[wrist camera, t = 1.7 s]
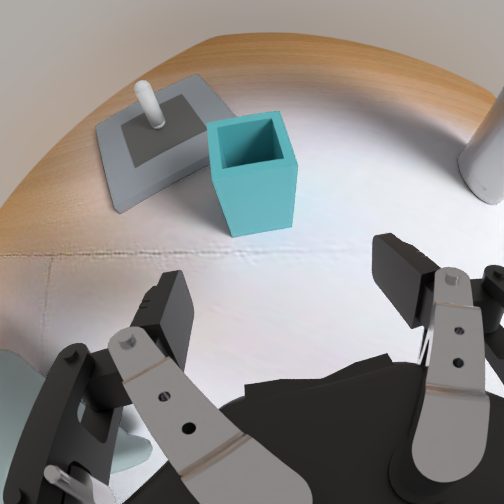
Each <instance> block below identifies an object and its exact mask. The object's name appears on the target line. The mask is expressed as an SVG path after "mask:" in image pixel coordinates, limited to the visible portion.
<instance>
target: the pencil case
mask: <svg viewBox="0 0 504 504" xmlns="http://www.w3.org/2000/svg"><path fill="white" fill-rule="evenodd" d="M45 379H46V378H45V377H44V376H43V375H42V374H40V373H39V372H38V371H37V370H35V369H34V368H33V367H32V366H31V365H30V364H28V363H27V362H26V361H25V360H24V359H23V358H22V357H21V356H19V355H18V354H16V353H14V352H11V351H8V350H1V349H0V504H4V502H3V490H4V486H5V482H6V479H7V475H8V472H9V468H10V465H11V462H12V459H13V456H14V453H15V450H16V447H17V444H18V442H19V439H20V436H21V434H22V431H23V429H24V426H25V424H26V421H27V419H28V416H29V414H30V412H31V409H32V407H33V405H34V403H35V400H36V398H37V396H38V394H39V392H40V390H41V388H42V385H43V383H44V381H45ZM85 407H86V406H85V405H84V404H82V403H81V402H80V405H79V407H78V412H77V415H78V419H79V422H81V419H82V416H83V413H84V410H85ZM152 449H153V447H152V445H151V443H150V441H149V440H148V439H145V438H142V437H139V436H135V435H127V432H126V431H125V430H123V429H122V428H121V427H119V429H118V434H117V439H116V444H115V449H114V454H113V460H112V466H111V472H110V474H112V473H116V472H119V471H123V470H126V469H129V468H131V467H134V466H136V465H139V464H141V463H143V462H144V461H146V460H148V459H149V457H150V455H151V452H152Z"/></svg>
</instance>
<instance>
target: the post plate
mask: <svg viewBox="0 0 504 504" xmlns="http://www.w3.org/2000/svg"><path fill="white" fill-rule="evenodd" d="M134 92H135V94H136V96H137V98H138V100H139V101H138V102H136V103H134V104H132V105H130V106H129V107H127V108H125V109H123V110H122V111H120V112H118V113H116V114H115V115H113V116H111V117H110V118H108V119H106V120H105V121H103V122H102V123H100V124H98V125H97V126H95V127H96V132H97V138H98V143H99V147H100V152H101V157H102V161H103V165H104V170H105V174H106V178H107V182H108V186H109V189H110V193H111V197H112V200H113V204H114V208H115V209H116V210H117V211H118V212H119V213H120V214H122V213H123V212H125V211H126V210H128V209H130V208H131V207H133V206H135V205H136V204H138V203H140V202H141V201H143V200H145V199H146V198H148V197H150V196H152V195H153V194H155V193H157V192H158V191H160V190H162V189H164V188H166V187H167V186H169V185H171V184H173V183H175V182H176V181H178V180H180V179H182V178H184V177H186V176H188V175H190V174H191V173H193V172H195V171H197V170H199V169H201V168H203V167H205V166H207V165H209V164H210V157H209V146H208V135H207V123H209V122H214V121H219V120H224V119H229V118H235V117H236V115H235V114H234V113H233V112H232V111H231V110H230V109H229V108H228V106H227V105H226V104H225V103H224V102H223V101H222V100H221V99H220V98H219V96H218V95H217V94H216V93H215V92H214V91H213V90H212V89H211V88H210V87H209V86H208V85H207V84H206V82H205V81H204V80H203V79H202V78H201V77H200V76H199V75H198V74H195V75H193V76H190V77H188V78H186V79H183V80H181V81H179V82H177V83H174V84H172V85H170V86H168V87H166V88H164V89H161V90H159V91H157V92H155V93H153V90H152V88H151V86H150V84H149V82H148V81H146V80H141V81H138V82H137V83H136V84H135V86H134Z"/></svg>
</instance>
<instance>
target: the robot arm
mask: <svg viewBox="0 0 504 504" xmlns="http://www.w3.org/2000/svg"><path fill="white" fill-rule="evenodd" d="M458 165H459V170H460V172H461V175H462V177H463V179H464V181H465V182H466V184H467V185H468V187H469V188H470V189H471V190H472V192H473V193H474V194H475V195H476V196H477V197H478V198H480V199H481V200H483V201H484V202H486V203H488V204H492V205H493V204H498V203H499V202H501V201H502V200H503V199H504V87H503V89H502V91H501V92H500V94H499V96H498V97H497V99H496V101H495V102H494V104H493V106H492V107H491V109H490V111H489V112H488V114H487V115H486V117H485V119H484V120H483V122H482V123H481V125H480V126H479V128H478V129H477V131H476V132H475V134H474V135H473V137H472V138H471V140H470V141H469V143H468V144H467V146H466V147H465V148H464V150H463V151H462V153H461V154H460V156H459V159H458ZM372 275H373V279H374V281H375V283H376V284H377V285H378V287H379V288H380V289H381V290H382V292H383V293H384V294H385V295H386V297H387V298H388V299H389V300H390V302H391V303H392V304H393V306H394V307H395V308H396V309H397V311H398V312H399V313H400V315H401V316H402V317H403V319H404V320H405V321H406V323H407V324H408V325H409V327H410V328H411V329H413V328H416V327H419V326H422V325H423V326H424V330H423V334H422V339H421V345H420V350H419V355H418V360H417V364H416V363H409V362H392V360H391V359H390V357H389V355H388V353H386V354H383V355H379V356H376V357H373V358H369V359H366V360H362V361H359V362H355V363H353V364H351V365H349V366H347V367H345V368H343V369H341V370H339V371H337V372H335V373H333V374H331V375H329V376H327V377H325V378H321V379H279V380H273V381H267V382H260V383H254V384H246V385H244V387H245V396H242V397H239V398H237V399H235V400H232V401H230V402H229V403H227V404H225V405H223V406H222V407H221V408H219V409H217V408H216V407H215V406H214V405H213V404H212V403H211V402H210V400H209V399H208V398H207V397H206V396H205V395H204V394H203V393H202V392H201V391H200V390H199V389H198V388H197V387H196V386H195V385H194V384H193V382H192V381H191V380H190V379H189V378H188V377H187V376H186V375H185V374H184V369H185V363H186V357H187V351H188V346H189V340H190V335H191V329H192V324H193V319H194V307H193V302H192V299H191V296H190V293H189V290H188V287H187V284H186V281H185V278H184V275H183V272H182V271H181V270H177V271H171V272H165V273H163V274H162V276H161V278H160V280H159V282H158V284H157V286H153V287H152V288H151V289H150V290H149V291H148V292H147V293H146V294H145V296H144V298H143V300H142V303H141V304H140V306H139V309H138V310H137V312H136V314H135V317H134V319H133V321H132V323H131V325H130V327H128V328H125V329H123V330H120V331H119V332H117V333H116V334H115V335H114V336H113V337H112V338H111V339H110V341H109V343H108V348H107V349H104V350H100V351H97V352H94V353H90V351H89V350H88V348H87V346H86V345H85V344H83V343H75V344H72V345H69V346H68V347H66V348H65V349H63V350H62V351H61V352H60V353H59V355H58V356H57V358H56V360H55V362H54V364H53V366H52V367H51V369H50V371H49V373H48V375H47V377H46V379H45V381H44V383H43V385H42V388H41V390H40V392H39V394H38V396H37V398H36V400H35V403H34V405H33V407H32V409H31V412H30V414H29V416H28V419H27V421H26V424H25V426H24V429H23V431H22V434H21V436H20V439H19V442H18V444H17V447H16V450H15V453H14V456H13V459H12V462H11V465H10V468H9V472H8V475H7V479H6V482H5V486H4V490H3V502H4V504H116V503H115V496H114V494H113V492H112V490H111V489H110V488H109V487H108V485H109V478H110V472H111V466H112V460H113V454H114V449H115V444H116V439H117V434H118V429H119V424H120V420H121V415H122V411H123V406H126V405H130V404H134V406H135V408H136V410H137V411H138V413H139V415H140V417H141V418H142V420H143V422H144V423H145V425H146V427H147V428H148V430H149V431H150V433H151V435H152V436H153V438H154V439H155V441H156V442H157V444H158V445H159V447H160V448H161V450H162V451H163V453H164V454H165V456H166V457H167V459H168V461H167V462H166V463H165V464H164V465H163V466H162V467H161V468H160V469H159V470H158V471H157V472H156V473H155V474H154V475H153V476H152V477H151V478H150V479H149V480H148V481H147V482H145V483H144V484H143V485H142V486H141V487H140V488H139V489H138V490H137V491H136V492H135V493H134V494H133V495H131V496H130V497H129V498H128V499H127V500H126V501H125V502H124V503H122V504H504V398H503V397H500V396H498V395H495V394H492V393H490V392H487V391H485V358H486V359H487V361H488V362H489V364H490V365H491V367H492V368H493V370H494V371H495V372H496V374H497V375H498V377H499V378H500V380H501V381H502V383H503V385H504V328H503V327H502V326H501V325H500V321H501V318H502V316H503V313H504V267H502V266H498V265H490V266H487V267H486V268H485V270H484V274H483V278H482V279H470V278H469V276H468V275H467V274H466V273H465V272H464V271H462V270H460V269H457V268H452V267H444V268H440V267H439V266H438V265H437V264H435V263H434V262H433V261H432V260H431V259H429V258H428V257H427V256H426V257H425V255H424V254H423V253H422V252H420V251H419V250H418V249H417V248H415V247H414V246H413V245H410V244H408V243H405V242H403V241H401V240H400V239H399V238H397V237H396V236H395V235H393V234H392V233H386V234H380V235H375V236H374V237H373V242H372ZM81 399H83V400H84V401H85V402H86V407H85V410H84V413H83V416H82V419H81V422H79V419H78V415H77V412H78V407H79V405H80V402H81Z"/></svg>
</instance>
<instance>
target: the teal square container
mask: <svg viewBox="0 0 504 504" xmlns="http://www.w3.org/2000/svg"><path fill="white" fill-rule="evenodd" d="M207 135H208V146H209V157H210V167H211V177H212V182H213V185H214V188H215V190H216V193H217V196H218V199H219V202H220V204H221V207H222V210H223V213H224V215H225V218H226V221H227V224H228V226H229V229H230V232H231V235H232V237H238V236H244V235H249V234H255V233H261V232H266V231H272V230H278V229H283V228H289V227H292V221H293V212H294V202H295V193H296V182H297V172H298V164H297V161H296V158H295V154H294V151H293V148H292V145H291V142H290V140H289V137H288V134H287V131H286V128H285V125H284V122H283V119H282V117H281V114H280V111H274V112H267V113H260V114H253V115H247V116H241V117H235V118H229V119H224V120H219V121H214V122H209V123H207Z"/></svg>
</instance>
